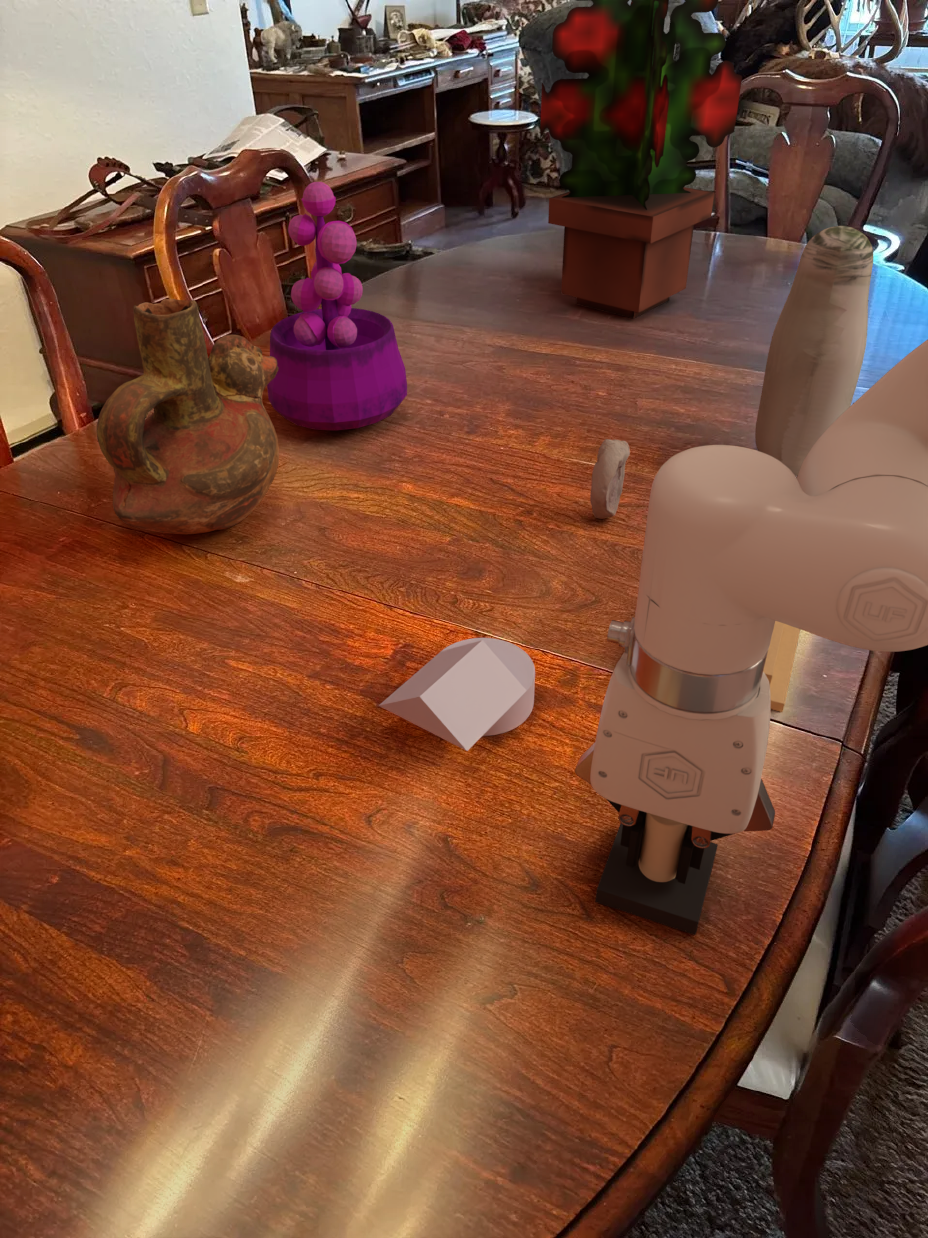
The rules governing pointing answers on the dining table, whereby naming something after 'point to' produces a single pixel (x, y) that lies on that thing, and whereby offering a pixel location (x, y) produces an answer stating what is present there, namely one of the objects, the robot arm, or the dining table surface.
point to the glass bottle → (816, 346)
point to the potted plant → (634, 146)
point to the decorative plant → (333, 336)
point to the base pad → (780, 662)
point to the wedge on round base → (468, 691)
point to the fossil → (608, 477)
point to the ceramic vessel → (189, 427)
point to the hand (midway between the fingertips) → (660, 858)
